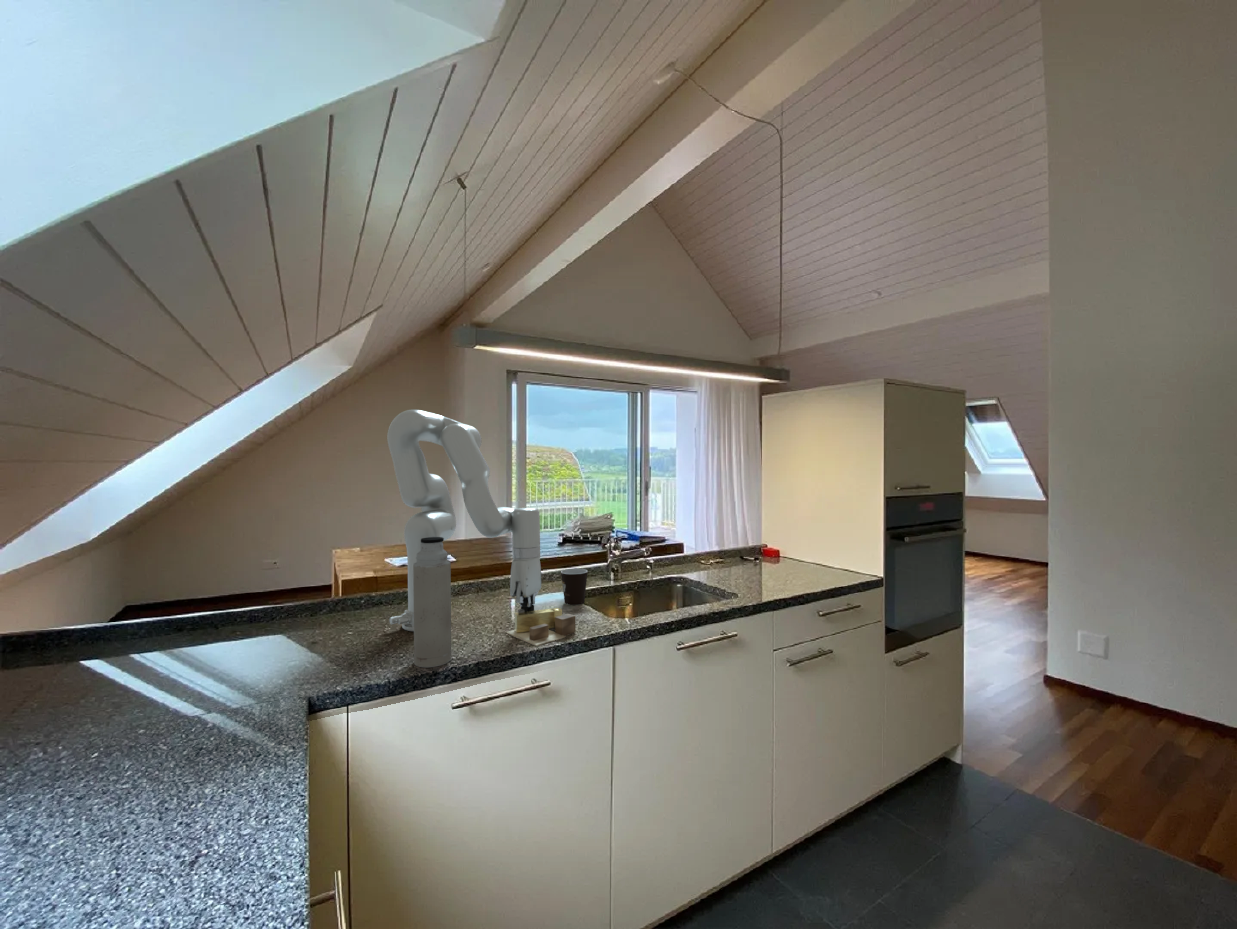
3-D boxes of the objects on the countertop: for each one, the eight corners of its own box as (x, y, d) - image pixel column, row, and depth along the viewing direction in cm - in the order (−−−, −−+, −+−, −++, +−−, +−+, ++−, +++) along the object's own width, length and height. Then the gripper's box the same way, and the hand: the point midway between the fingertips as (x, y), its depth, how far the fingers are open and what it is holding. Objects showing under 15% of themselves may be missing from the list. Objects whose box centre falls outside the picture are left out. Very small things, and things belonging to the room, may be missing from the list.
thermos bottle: (406, 663, 114) (405, 538, 114) (435, 652, 121) (434, 534, 121) (430, 670, 110) (429, 541, 110) (458, 658, 117) (457, 536, 117)
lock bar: (560, 623, 140) (560, 603, 140) (563, 626, 137) (563, 606, 137) (514, 629, 136) (514, 609, 136) (517, 632, 133) (516, 612, 133)
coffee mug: (586, 605, 160) (586, 574, 160) (559, 606, 160) (559, 574, 160) (589, 596, 171) (589, 566, 172) (564, 596, 172) (563, 567, 172)
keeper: (533, 642, 127) (533, 629, 127) (529, 640, 128) (529, 627, 128) (548, 637, 130) (548, 625, 130) (544, 636, 132) (544, 623, 132)
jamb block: (562, 636, 131) (562, 619, 131) (555, 633, 133) (555, 617, 133) (575, 632, 134) (575, 615, 134) (568, 630, 136) (568, 613, 136)
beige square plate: (536, 646, 124) (536, 645, 124) (506, 633, 134) (506, 632, 134) (581, 632, 134) (581, 631, 134) (550, 621, 144) (550, 620, 144)
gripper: (527, 548, 147) (528, 611, 147) (500, 557, 133) (501, 627, 133) (550, 549, 145) (552, 613, 145) (525, 558, 131) (527, 629, 131)
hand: (527, 620), depth 139 cm, fingers closed
